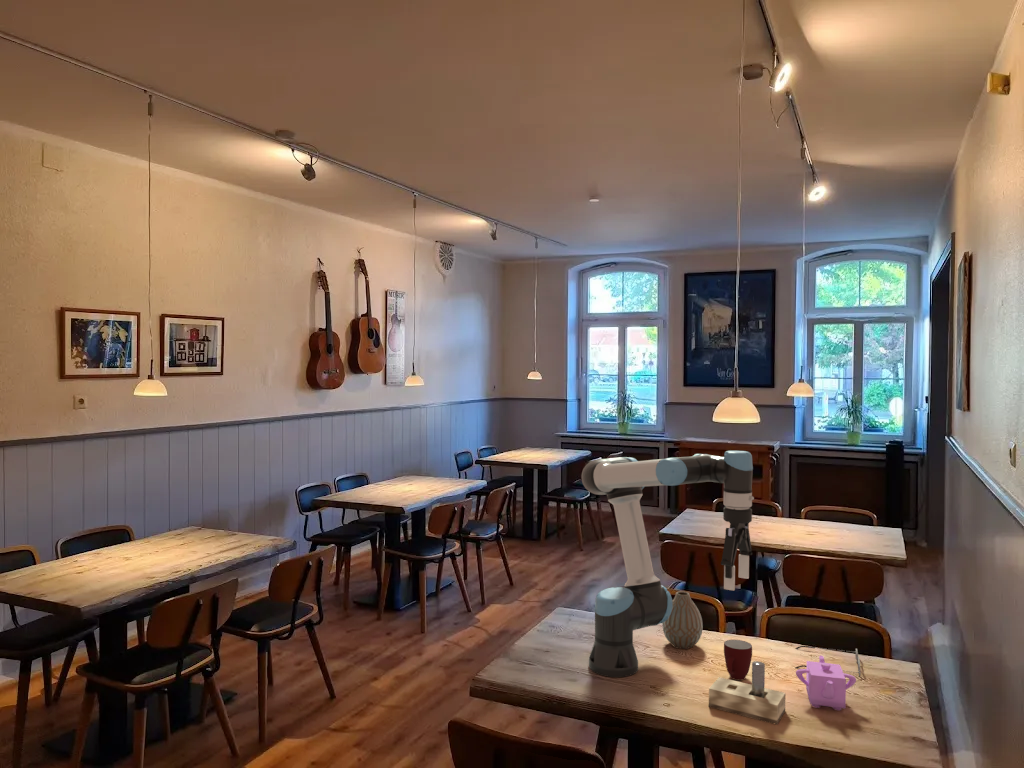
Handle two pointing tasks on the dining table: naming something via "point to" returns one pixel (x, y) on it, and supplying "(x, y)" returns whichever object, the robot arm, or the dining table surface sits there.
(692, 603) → the vase
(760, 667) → the pin
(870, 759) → the dining table surface
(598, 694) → the dining table surface
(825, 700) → the teapot
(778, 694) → the block
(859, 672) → the eyeglasses
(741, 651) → the mug
